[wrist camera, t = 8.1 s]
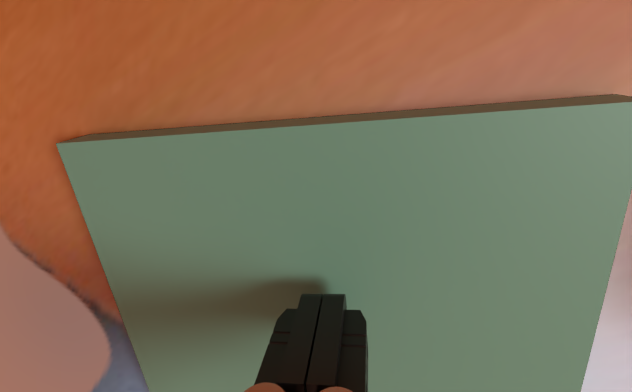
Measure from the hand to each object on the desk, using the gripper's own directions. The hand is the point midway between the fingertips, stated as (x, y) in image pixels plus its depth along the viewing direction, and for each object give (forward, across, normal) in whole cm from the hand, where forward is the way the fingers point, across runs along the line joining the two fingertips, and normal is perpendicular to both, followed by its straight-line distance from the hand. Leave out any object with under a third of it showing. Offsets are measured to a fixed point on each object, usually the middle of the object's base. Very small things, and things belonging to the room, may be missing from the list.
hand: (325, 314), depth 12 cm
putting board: (+2, 0, +7) cm, 7 cm away
